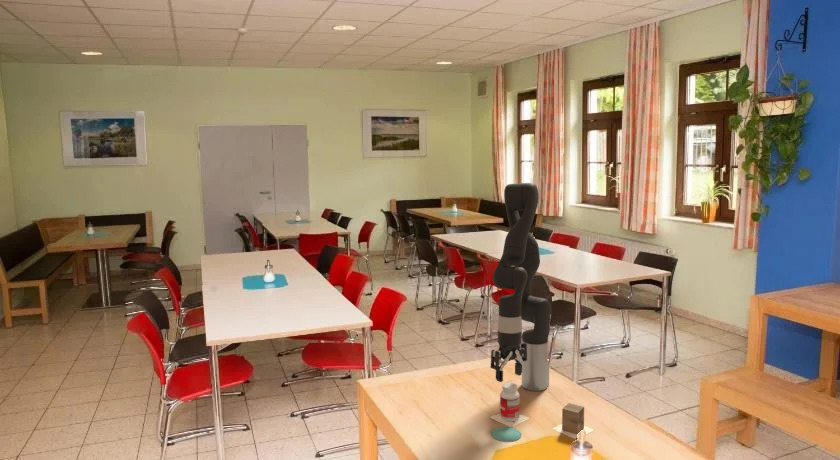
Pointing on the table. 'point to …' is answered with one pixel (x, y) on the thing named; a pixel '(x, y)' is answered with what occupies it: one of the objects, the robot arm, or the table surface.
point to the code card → (508, 423)
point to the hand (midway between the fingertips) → (508, 377)
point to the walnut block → (573, 418)
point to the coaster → (506, 434)
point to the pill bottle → (509, 402)
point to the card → (559, 429)
